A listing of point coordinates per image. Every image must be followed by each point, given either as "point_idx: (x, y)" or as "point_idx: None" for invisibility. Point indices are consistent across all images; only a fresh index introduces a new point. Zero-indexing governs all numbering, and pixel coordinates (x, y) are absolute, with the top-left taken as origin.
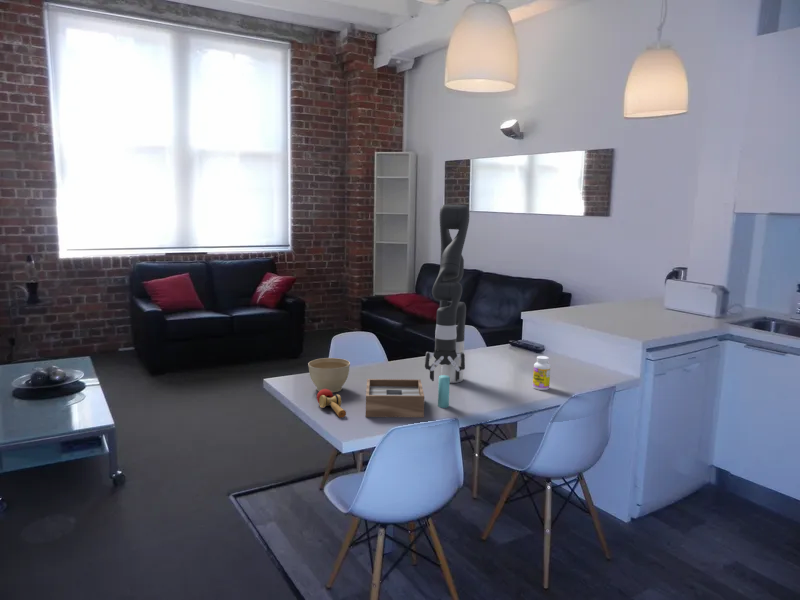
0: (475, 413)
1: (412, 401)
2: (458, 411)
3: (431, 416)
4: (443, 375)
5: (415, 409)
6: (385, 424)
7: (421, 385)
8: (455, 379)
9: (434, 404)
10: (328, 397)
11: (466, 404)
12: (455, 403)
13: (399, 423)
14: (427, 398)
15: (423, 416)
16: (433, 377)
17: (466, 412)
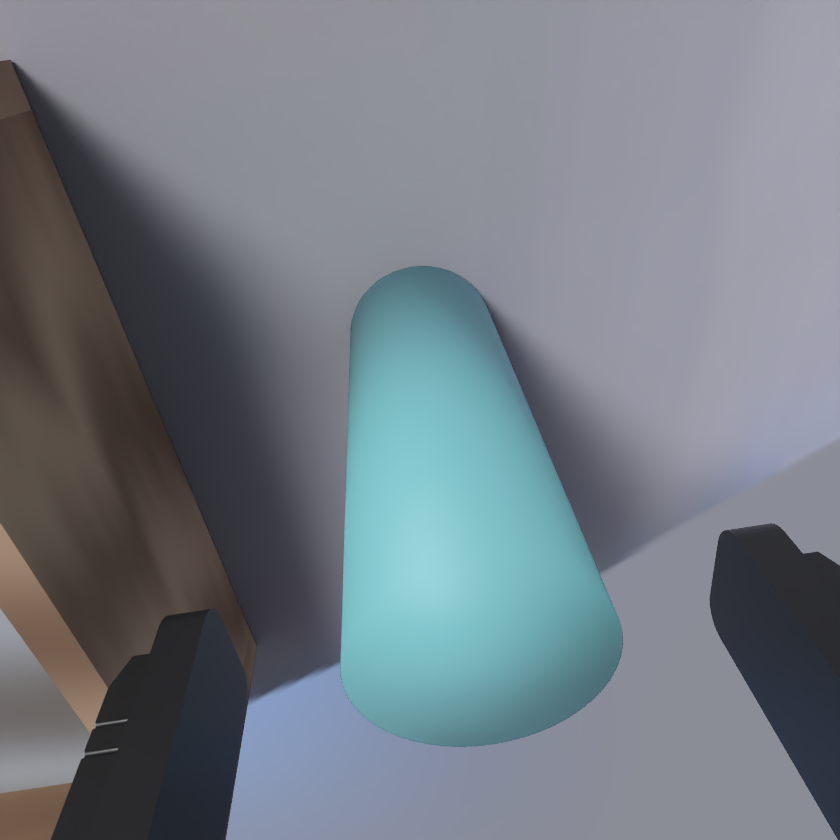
0: (750, 482)
1: None
2: (586, 464)
3: (321, 616)
4: (462, 578)
5: None
6: None
7: (10, 552)
8: (728, 632)
9: (300, 294)
10: None
11: (735, 214)
12: (590, 198)
13: None
14: (132, 10)
15: (252, 653)
16: (227, 770)
17: (665, 474)
